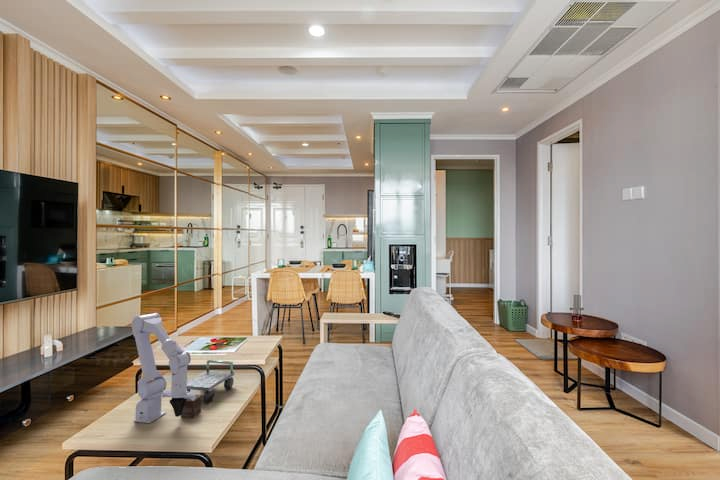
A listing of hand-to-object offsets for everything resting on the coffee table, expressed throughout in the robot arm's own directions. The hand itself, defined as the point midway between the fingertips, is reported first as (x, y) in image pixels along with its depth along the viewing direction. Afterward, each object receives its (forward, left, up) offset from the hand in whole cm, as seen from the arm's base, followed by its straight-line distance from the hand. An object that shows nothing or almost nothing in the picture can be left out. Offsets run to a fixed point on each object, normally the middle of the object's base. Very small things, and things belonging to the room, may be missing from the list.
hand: (178, 415), depth 143 cm
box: (+8, 0, -4) cm, 9 cm away
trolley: (+29, +7, -3) cm, 30 cm away
